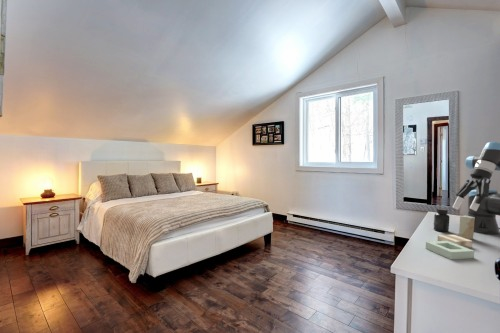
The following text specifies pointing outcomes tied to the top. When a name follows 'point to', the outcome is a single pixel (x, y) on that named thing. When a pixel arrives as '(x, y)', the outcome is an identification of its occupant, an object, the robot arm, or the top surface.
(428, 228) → the top surface
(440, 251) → the socket
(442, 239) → the stand
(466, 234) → the box
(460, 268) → the top surface
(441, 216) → the supplement bottle
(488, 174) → the robot arm
